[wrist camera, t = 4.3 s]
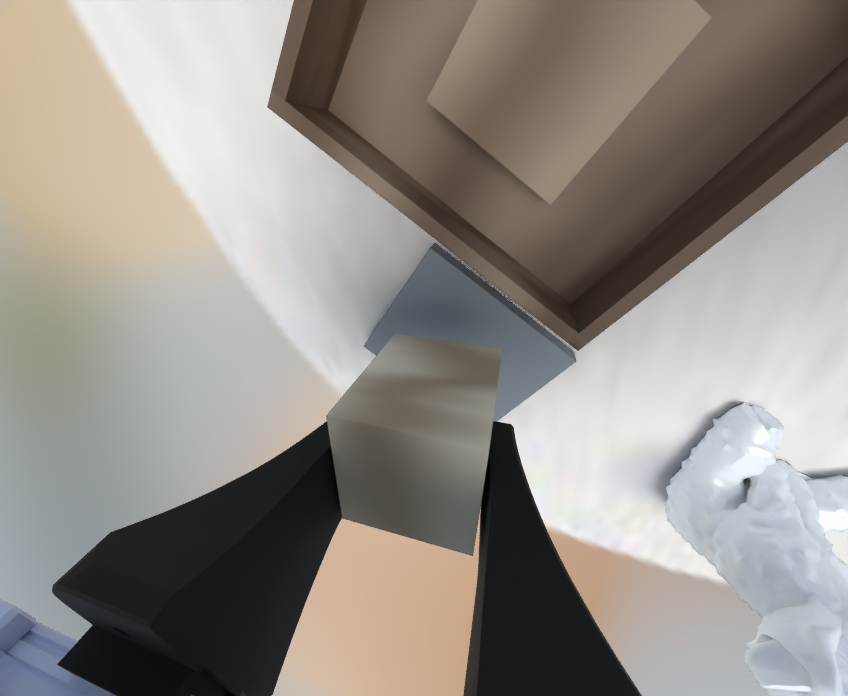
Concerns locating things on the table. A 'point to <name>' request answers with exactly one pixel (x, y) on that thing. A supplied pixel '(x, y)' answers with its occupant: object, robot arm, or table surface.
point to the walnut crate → (570, 128)
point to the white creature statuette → (770, 549)
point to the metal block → (417, 439)
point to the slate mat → (474, 326)
